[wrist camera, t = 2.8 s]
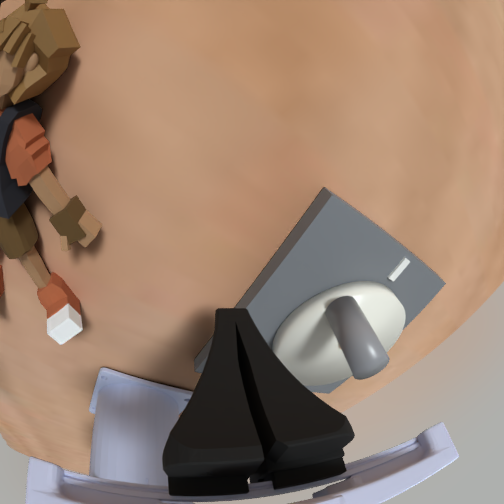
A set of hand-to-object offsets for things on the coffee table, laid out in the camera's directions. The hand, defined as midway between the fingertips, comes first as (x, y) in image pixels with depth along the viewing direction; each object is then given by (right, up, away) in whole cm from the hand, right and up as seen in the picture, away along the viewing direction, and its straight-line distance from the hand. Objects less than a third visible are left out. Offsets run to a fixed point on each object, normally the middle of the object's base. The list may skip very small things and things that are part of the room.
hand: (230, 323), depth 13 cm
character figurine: (-11, +8, -3) cm, 13 cm away
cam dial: (+7, -2, +5) cm, 9 cm away
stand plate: (+6, -1, +6) cm, 8 cm away
